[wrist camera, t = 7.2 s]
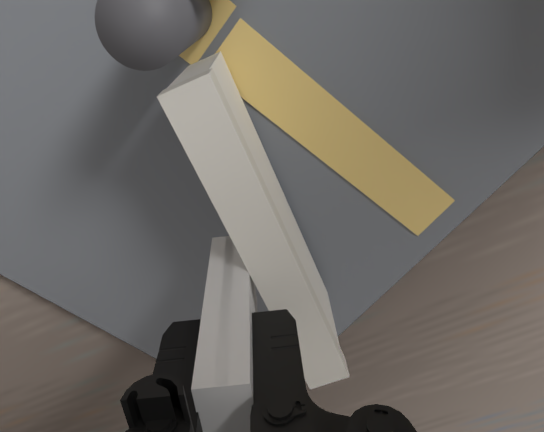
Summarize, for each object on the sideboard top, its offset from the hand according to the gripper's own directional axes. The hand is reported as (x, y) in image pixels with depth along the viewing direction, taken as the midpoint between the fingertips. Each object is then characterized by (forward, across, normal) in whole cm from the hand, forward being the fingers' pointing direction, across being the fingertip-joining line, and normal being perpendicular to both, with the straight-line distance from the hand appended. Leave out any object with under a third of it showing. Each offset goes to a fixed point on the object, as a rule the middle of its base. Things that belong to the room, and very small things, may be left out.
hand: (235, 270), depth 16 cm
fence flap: (+3, +1, +2) cm, 3 cm away
